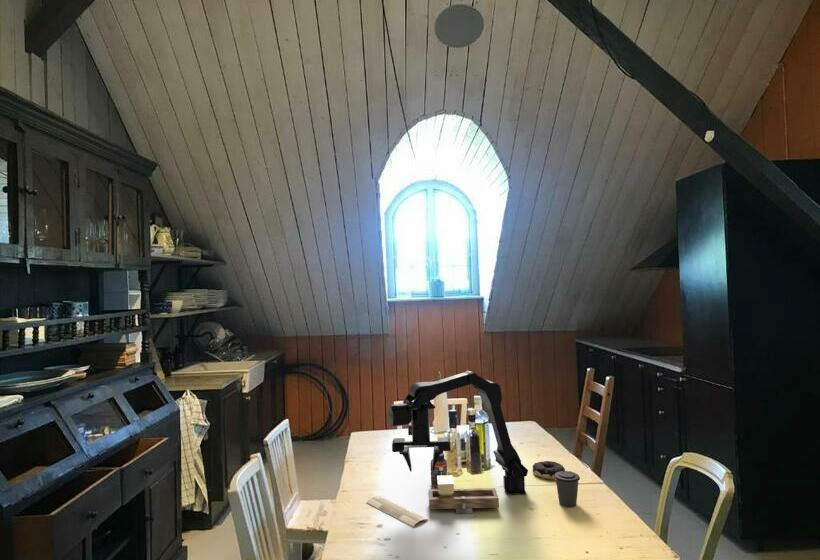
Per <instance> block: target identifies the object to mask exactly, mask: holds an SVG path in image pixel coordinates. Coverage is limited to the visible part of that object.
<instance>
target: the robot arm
mask: <svg viewBox="0 0 820 560" xmlns="http://www.w3.org/2000/svg"><path fill="white" fill-rule="evenodd" d="M466 386H471V387H473V388H475V389H476V390H477V392H478V394H479V396H480V399H481V401H482V402H483V403H484V405H485V406H486V408H487V412H488V414H489V419H490V422H491V426H492V429H493V433H494V436H495V439H496V440H495V441H496V444H497V447H496V450H493V454H494V457H495V462H496V463H497V464H498V465H499V466H501V469H502V470H503V471H504V475H503V476H502V477H503V489H504V491H505V493H506V494H507V495H526V494H527V491H526V487H525V486H526V484H525V482H526V481H525V479H526V478H525V477H527V476H528V472H529V469H528V468H527V467H525V465H523V464H522V460H521V458H520V455H519V454H518V451H517V450H516V449H515V447H514V446H513V445H512V440H511V437H510V435H509V430H508V427H507V423H506V420H505V416H504V413H503V408H502V402H503V401H502V400H503V394H502V387H501V386H500V384H498V383H496V382H494V381H493V380H492V381H491V380H489V379H485V378H483V377H481V376H479V375H478V374H477V373H476V372H474V371H470V370H466V371H464V372H461V373H458V374H455V375H451V376H448V377H444V378H442V379H438V380H435V381H420V382H414V383H412V384H411V385H410V388H409V390H408V394H407V395H406V396H405V398H404V400H403V401H402V403H400V404H399V403H398V404H396V403H395V404H394V403H393V404H390V405H389V408H388V413H387V420H388V425H389V426H390V427H391V428H393V427H401V426H408V427H407V429H408V430H407V435H408V436H412V437H411V438H412V440H411V441H406V439H405V437H400V438H399V437H394V438H393V439H392V442H391V450H392V452H393V453H399V455H402V456H403V458H404V460H405V462H406V464H407V467H408V469H409V472H412V461H411V453H410V448H412V449H413V448H414V449H415V448H433V454H432V459H433V462H432V471H434V468H435V465H436V462H437V460H438V458H439V456H440V454H443V453H444V452H450V451H452V449H451V441H450V440H451V439H450V438H449V437H448V436H443V437H442V436H440V437H437V440H431V431H430V429H431V428H430V410H433V409H436V406H435V405H434V404H433V403H432V401H433V400H434V399H436V398H437V397H438V396H439V395H441V394H445V393H448V392H451V391H454V390H456V389H457V390H458V389H460V388H464V387H466ZM409 424H411V425H409Z"/></svg>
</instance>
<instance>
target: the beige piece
mask: <svg viewBox="0 0 820 560" xmlns="http://www.w3.org/2000/svg"><path fill="white" fill-rule="evenodd" d="M366 504H368V505H369V506H371V507H373V508H375V509H378V510H379V511H381V512H383V513H385V514H386V515H389V516H390V517H393V518H394V519H396V520H398V521H400V522H402V523H404V524H406V525H407V526H409V527H411V528H414V527H415V526H416V524H418V523H419V522H421V521H425V522H428V521H429V520H428V519H429V518H426V517H424V516H422V515H420V514H418V513H416V512H414V511H411V510H409V509H407V508H406V507H403V506H401V505H399V504H397V503H395V502H393V501H391V500H389V499H388V498H387V499H386V498H385V497H382V496H379V495H377V496H372V497H371V498H369V499H368V500H367V501H366Z"/></svg>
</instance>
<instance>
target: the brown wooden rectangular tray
mask: <svg viewBox="0 0 820 560" xmlns="http://www.w3.org/2000/svg"><path fill="white" fill-rule="evenodd" d="M499 499H500V498H499V495H498V493H497V490H496V488H495V487H487V488H486V487H483V488H482V487H481V488H479V487H477V488H464V487H463V488H461V487H460V488H454V493H452V497H440V496H439V493H438V488H437V489H435V488H434V489H433V488H431V489H430V488H429V489H428V505H429V507H428V509H429V510H437V509H439V510H440V509H441V510H442V509H446V510H447V509H455V514H456V515H471V514H472V515H473V509H489V508H490V509H491V508H492V509H493V508H500V500H499Z"/></svg>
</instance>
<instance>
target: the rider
mask: <svg viewBox="0 0 820 560" xmlns="http://www.w3.org/2000/svg"><path fill="white" fill-rule="evenodd" d="M437 483H438V488H437V489H438V493H439V496H440V497H452V493H454V489H455V484H454V483H455V482H454V477H453V475H447V476H437Z"/></svg>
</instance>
